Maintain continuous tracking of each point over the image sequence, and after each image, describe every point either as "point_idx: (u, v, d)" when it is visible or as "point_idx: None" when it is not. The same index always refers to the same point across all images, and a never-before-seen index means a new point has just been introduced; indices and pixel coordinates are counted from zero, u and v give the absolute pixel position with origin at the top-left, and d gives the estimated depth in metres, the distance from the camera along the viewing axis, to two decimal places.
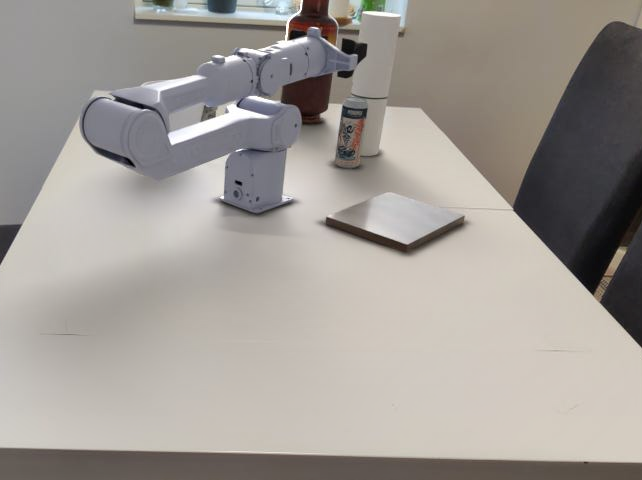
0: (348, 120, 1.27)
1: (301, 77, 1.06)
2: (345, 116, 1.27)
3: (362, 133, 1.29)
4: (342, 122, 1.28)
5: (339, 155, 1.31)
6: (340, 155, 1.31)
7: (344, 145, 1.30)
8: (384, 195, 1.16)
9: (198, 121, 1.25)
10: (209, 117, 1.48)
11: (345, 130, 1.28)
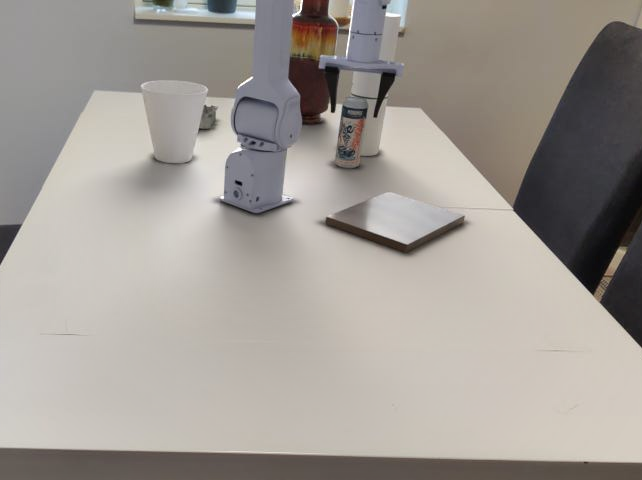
0: (348, 120, 1.27)
1: (372, 30, 1.19)
2: (345, 116, 1.27)
3: (362, 133, 1.29)
4: (342, 122, 1.28)
5: (339, 155, 1.31)
6: (340, 155, 1.31)
7: (344, 145, 1.30)
8: (384, 195, 1.16)
9: (198, 121, 1.25)
10: (209, 117, 1.48)
11: (345, 130, 1.28)
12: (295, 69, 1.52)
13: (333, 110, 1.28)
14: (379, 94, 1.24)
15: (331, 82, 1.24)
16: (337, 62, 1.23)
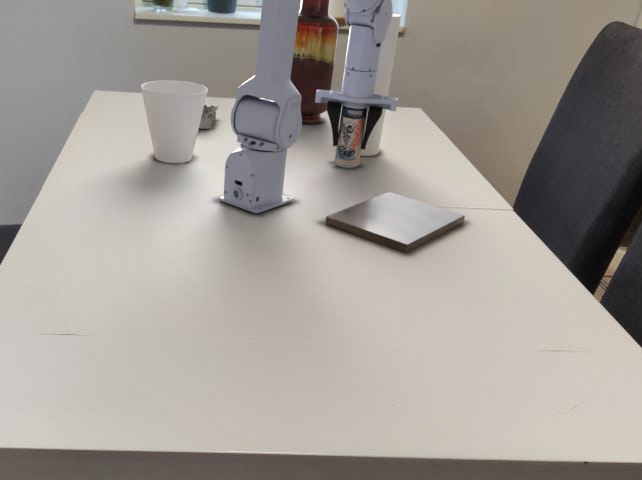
0: (348, 120, 1.27)
1: (366, 67, 1.22)
2: (345, 116, 1.27)
3: (362, 133, 1.29)
4: (342, 122, 1.28)
5: (339, 155, 1.31)
6: (340, 155, 1.31)
7: (344, 145, 1.30)
8: (384, 195, 1.16)
9: (198, 121, 1.25)
10: (209, 117, 1.48)
11: (345, 130, 1.28)
12: (295, 69, 1.52)
13: (335, 143, 1.31)
14: (367, 127, 1.27)
15: (334, 117, 1.27)
16: (333, 97, 1.26)
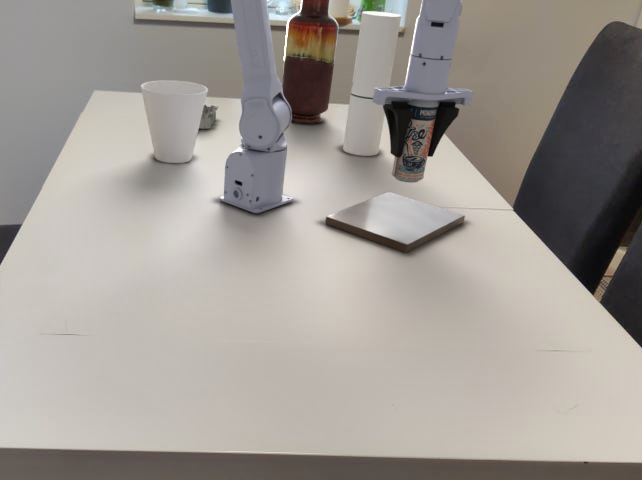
0: (420, 123, 1.00)
1: (417, 51, 0.95)
2: (416, 118, 0.99)
3: (431, 137, 1.03)
4: (410, 126, 1.00)
5: (406, 168, 1.03)
6: (407, 168, 1.03)
7: (413, 155, 1.02)
8: (384, 195, 1.16)
9: (198, 121, 1.25)
10: (209, 117, 1.48)
11: (416, 136, 1.01)
12: (295, 69, 1.52)
13: (400, 154, 1.03)
14: (440, 129, 1.01)
15: (404, 121, 0.99)
16: (403, 96, 0.97)
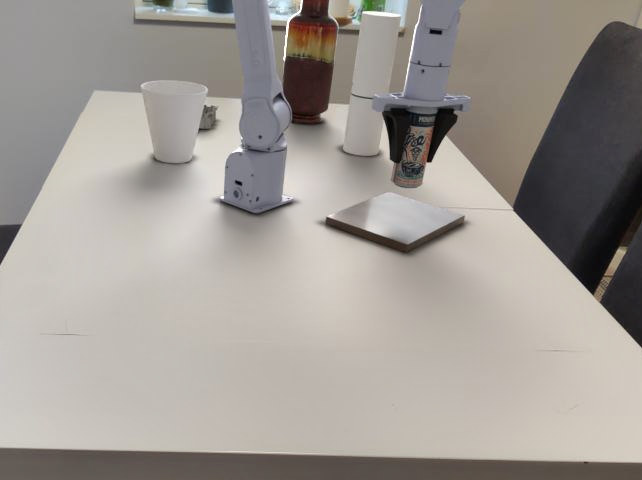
0: (419, 129, 1.00)
1: (416, 58, 0.96)
2: (415, 125, 1.00)
3: None
4: (409, 133, 1.01)
5: (405, 174, 1.04)
6: (406, 174, 1.04)
7: (412, 161, 1.03)
8: (384, 195, 1.16)
9: (198, 121, 1.25)
10: (209, 117, 1.48)
11: (414, 142, 1.01)
12: (295, 69, 1.52)
13: (399, 160, 1.03)
14: (439, 135, 1.02)
15: (403, 128, 0.99)
16: (402, 103, 0.98)
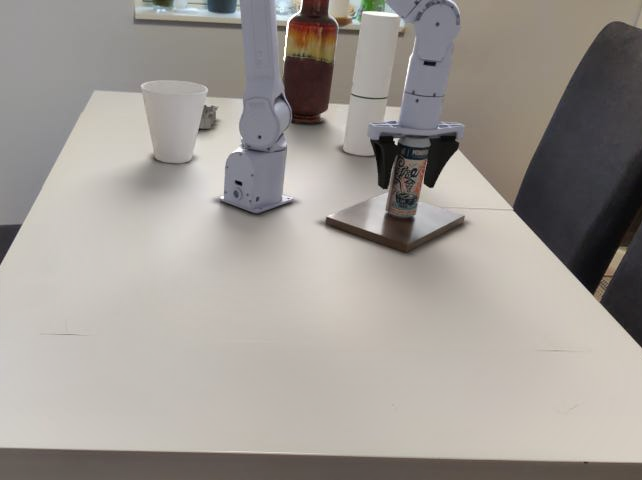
0: (413, 162, 1.03)
1: (410, 88, 0.98)
2: (409, 158, 1.02)
3: (423, 175, 1.06)
4: (403, 165, 1.03)
5: (399, 204, 1.06)
6: (400, 204, 1.06)
7: (406, 192, 1.05)
8: (384, 195, 1.16)
9: (198, 121, 1.25)
10: (209, 117, 1.48)
11: (408, 174, 1.04)
12: (295, 69, 1.52)
13: (387, 186, 1.05)
14: (440, 162, 1.04)
15: (390, 156, 1.01)
16: (397, 131, 1.00)
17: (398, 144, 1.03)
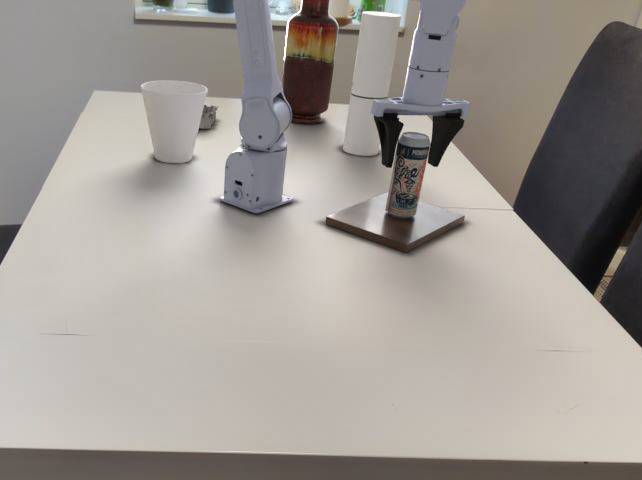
0: (413, 162, 1.03)
1: (415, 63, 0.96)
2: (409, 158, 1.02)
3: (423, 175, 1.06)
4: (403, 165, 1.03)
5: (399, 204, 1.06)
6: (400, 204, 1.06)
7: (406, 192, 1.05)
8: (384, 195, 1.16)
9: (198, 121, 1.25)
10: (209, 117, 1.48)
11: (408, 174, 1.04)
12: (295, 69, 1.52)
13: (391, 164, 1.03)
14: (445, 140, 1.03)
15: (394, 133, 0.99)
16: (401, 107, 0.98)
17: (398, 144, 1.03)
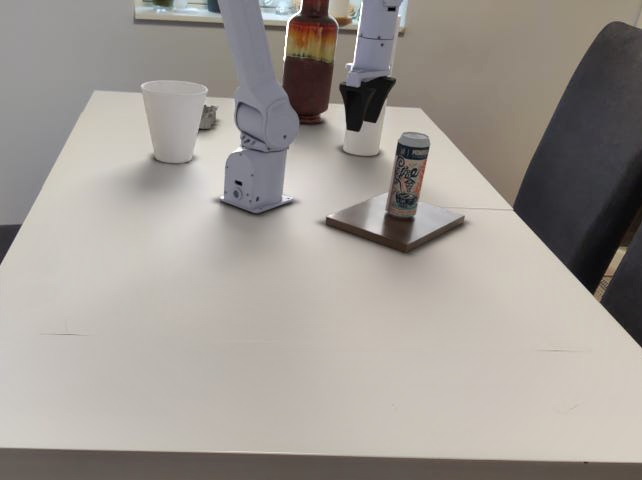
0: (413, 162, 1.03)
1: (375, 34, 1.07)
2: (409, 158, 1.02)
3: (423, 175, 1.06)
4: (403, 165, 1.03)
5: (399, 204, 1.06)
6: (400, 204, 1.06)
7: (406, 192, 1.05)
8: (384, 195, 1.16)
9: (198, 121, 1.25)
10: (209, 117, 1.48)
11: (408, 174, 1.04)
12: (295, 69, 1.52)
13: (360, 128, 1.14)
14: (384, 98, 1.17)
15: (369, 99, 1.10)
16: (371, 75, 1.09)
17: (398, 144, 1.03)
